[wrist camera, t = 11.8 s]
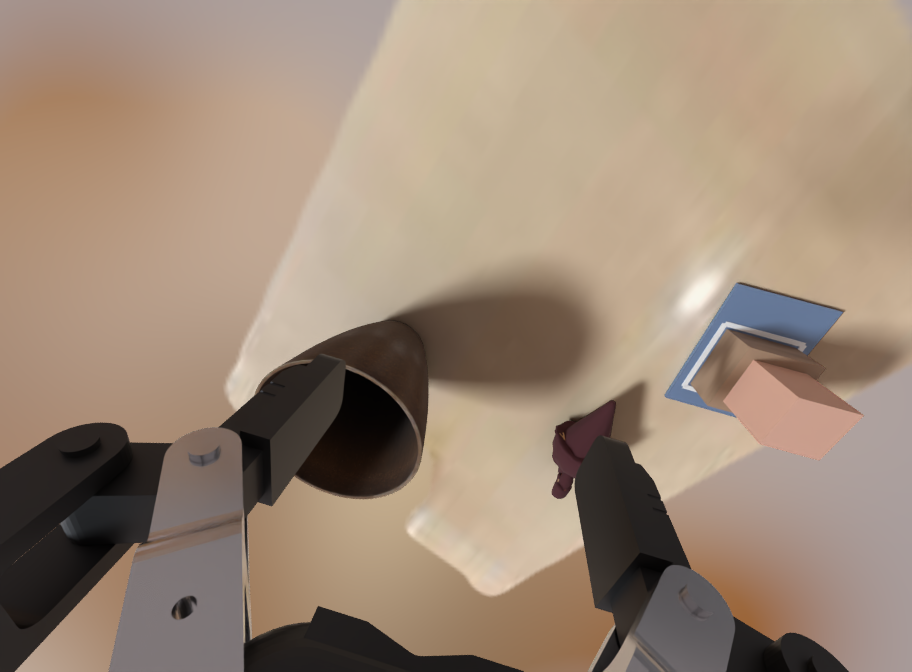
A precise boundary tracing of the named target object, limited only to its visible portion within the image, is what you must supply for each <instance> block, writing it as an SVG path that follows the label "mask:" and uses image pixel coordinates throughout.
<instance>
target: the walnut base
mask: <svg viewBox="0 0 912 672" xmlns="http://www.w3.org/2000/svg"><path fill="white" fill-rule="evenodd" d="M753 360H756V361H760V362H764V363H768V364H771V365H775V366H779V367H783V368H786V369H790V370H794V371H798V372H801V373H805V374H808V375H809V376H811V377H812V378H813V379H815V380H816V379H817V378H818V377H819V376H820V375H821V374H822V373H823V371H824V370H825V369H826V368H825V367H823V366H822V365H820V364H819V363H817V362H816V361H814V360H813V359H811V358H810V357H808V356H807V355H805V354H804V353H803V352H801V351H800V350H798V349H797V348H794V347H791V346H787V345H783V344H780V343H776V342H772V341H769V340H765V339H762V338H758V337H754V336H751V335H747V334H743V333H740V332H736V331H732V330H729V329H727V330H726V331H725V333H724V334H723V336H722V337H721V339H720V340H719V342H718V343H717V345H716V346H715V348H714V349H713V350H712V352H711V353H710V355H709V356H708V358H707V359H706V361H705V362H704V364H703V365H702V367H701V368H700V370H699V371H698V373H697V374H696V376H695V377H694V379H693V380H692V382H691V383H690V384H691V385H692V387H693V388H694V389H695V390H696V392H697V393H698V394H699V396H700V397H701V398H702V399H703V401H704V402H705V403H706V405H707V406H710V407H714V408H717V409H721V410H724V411H728V412H731V413H733V412H732V411H731V410H730V409H729V408H728V407H727V405H726V404H725V403H724V402H723V401H724V399H725V398H726V396H727V395H728V394H729V392H730V391H731V390H732V388H733V387H734V386H735V384H736V383H737V381H738V380H739V379H740V377H741V376H742V375H743V373H744V372H745V371H746V369H747V368H748V366H749V365H750V364H751V362H752V361H753Z"/></svg>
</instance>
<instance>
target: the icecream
mask: <svg viewBox="0 0 912 672" xmlns="http://www.w3.org/2000/svg"><path fill="white" fill-rule="evenodd" d="M615 407H616V402H615V401H613V400H611V401H609V402H608V403H606V404H604V405H603V406H601V407H600V408H598V409H597V410H595V411H593V412H592V413H590V414H589V415H587V416H585V417H584V418H582V419H581V420H579V421H577V422H574V421H566V422H564V423H562V424H561V425H557V426H556V430H555V433H556V435H555V437H554V440H553V455H552V457H553V460H554V462H555V463H556V464H557V465H558V466H559V468H558V472H559V474H558V476H557V480H556V482H555V484H554V486H553V489H552V495H553V496H554V497H556V498H557V499H562V498H564V497H565V496H566V495H567V494H568V493H569V491H570V490H571V488H572V486H571V485H572V483H573V478H576V474H577V471H578V469H579V467H580V465H581V463H582V462H583V460H584V458H585V456H586V454H587V453H588V451H589V449H590V447H591V446H592V444H593V442H594V440H595V439H596V438H597V437H598V436H599V435H602V436H605V437H609V438H610V436H611V430H612V424H613V418H614V413H615Z"/></svg>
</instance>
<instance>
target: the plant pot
mask: <svg viewBox="0 0 912 672" xmlns="http://www.w3.org/2000/svg"><path fill="white" fill-rule="evenodd" d="M319 354H325V355H328V356H331V357H335V358H338V359H342V360H344V361H345V362H346V369H345V380H344V390H343V399H342V404H341V407H340V410H339V412H338V414H337V416H336V418H335V419H334V421H333V422H332V424H331V425H330V426H329V428H328V429H327V430H326V432H325V433H324V435H323V436H322V437H321V439H320V440H319V442H318V443H317V444H316V446H315V447H314V449H313V450H312V451H311V453H310V454H309V456H308V457H307V458H306V460H305V461H304V463H303V464H302V465H301V467H300V468H299V470H298V471H297V472H296V474H295V475H294V476H295V477H296V478H298V479H299V480H301V481H303V482H304V483H306V484H308V485H310V486H311V487H314V488H316V489H318V490H321V491H323V492H326V493H329V494H332V495H335V496H340V497H345V498H352V499H373V498H379V497H383V496H386V495H389V494H392V493H394V492H396V491H398V490H400V489H401V488H403V487H404V486H405V485H407V483H409V482H410V481H411V479H412V478H413V477H414V476H415V474H416V472H417V471H418V468H419V465H420V462H421V458H422V457H421V456H422V452H423V446H424V439H425V432H426V424H427V414H428V370H427V362H426V356H425V351H424V347H423V344H422V341H421V339H420V337H419V336H418V334H417V333H416V332H415V331H414V330H413V329H412V328H410V327H409V326H407V325H406V324H404V323H401V322H398V321H381V322H376V323H372V324H367V325H364V326H360V327H357V328H354V329H351V330H349V331H346V332H343V333H341V334H339V335H336V336H334V337H332V338H330V339H327V340H325V341H323V342H321V343H319V344H317V345H315V346H313V347H312V348H310V349H308V350H306V351H304V352H303V353H301V354H299V355H298V356H296V357H294V358H293V359H291V360H289V361H288V362H286V363H284V364H283V365H281V366H279V367H278V368H276V369H274V370H273V371H271V372H270V373H269V374H268V375H266V376H265V377H264V379H263V380H262V381H261V383H260V384H259V385H258V387H257V389H256V392H255V395H256V394H257V393H260V390H262V389H263V388H264V387H265V386H266V385H267V384H270V382H271V381H272V380H273V379H274V378H275V377H276V376H277V375H279V374H280V373H281V372H282V371H284V370H286V369H289V368H291V367H293V366H296V365H298V364H300V365H303V366H307V365H308V364H309V363H310V362H311V361H312V360H313V359H315V358H316V357H317V356H318V355H319ZM255 395H254V396H255Z"/></svg>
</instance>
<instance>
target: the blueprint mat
mask: <svg viewBox="0 0 912 672" xmlns="http://www.w3.org/2000/svg"><path fill="white" fill-rule="evenodd" d="M842 313H843V312H842V311H839V310H835V309H832V308H828V307H824V306H820V305H817V304H813V303H809V302H806V301H802V300H798V299H795V298H791V297H787V296H783V295H780V294H776V293H772V292H769V291H765V290H761V289H757V288H754V287H750V286H746V285H743V284H739V283H736V284H735V286H734V287H733V289H732V291H731V292H730V294H729V295H728V297H727V298H726V300H725V302H724V303H723V305H722V306H721V308H720V309H719V311H718V312H717V314H716V316H715V317H714V319H713V320H712V322H711V323H710V325H709V326H708V328H707V330H706V331H705V333H704V334H703V336H702V337H701V339H700V341H699V342H698V344H697V345H696V347H695V348H694V350H693V351H692V353H691V355H690V356H689V358H688V359H687V361H686V362H685V364H684V365H683V367H682V369H681V370H680V372H679V373H678V375H677V376H676V378H675V380H674V381H673V383H672V384H671V386H670V387H669V389H668V390H667V392H666V394H665V395H664V396H665V397H666V398H669V399H673V400H677V401H680V402H684V403H687V404H691V405H694V406H698V407H701V408H705V409H708V410H712V411H715V412H719V413H722V414H726V415H729V416H733V417H736V416H735V415H734V414H733V413H731V412H728V411H724V410H721V409H717V408H714V407H710V406H707V405H706V403H705V402H704V401H703V399H702V398H701V397H700V396H699V394H698V393H697V392H696V390H695V389H694V388H693V387H692V385H691V384H690V383H691V382H692V380H693V379H694V377H695V376H696V374H697V373H698V371H699V370H700V368H701V367H702V365H703V364H704V362H705V361H706V359H707V358H708V356H709V355H710V353H711V352H712V350H713V349H714V348H715V346H716V345H717V343H718V342H719V340H720V339H721V337H722V336H723V334H724V333H725V331H726V330H727V329H729V330H732V331H736V332H740V333H743V334H747V335H751V336H754V337H758V338H762V339H765V340H769V341H772V342H776V343H780V344H783V345H787V346H791V347H794V348H797V349H798V350H800V351H801V352H803V353H804V354H805V355H808V354H809V353H810V352H811V351H812V349H813V348H814V347H815V346H816V344H817V343H818V342H819V341H820V340H821V338H822V337H823V336H824V335H825V334H826V332H827V331H828V330H829V329H830V328H831V326H832V325H833V324H834V323H835V321H836V320H837V319H838V318H839V317H840V315H841V314H842ZM736 418H737V417H736Z"/></svg>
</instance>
